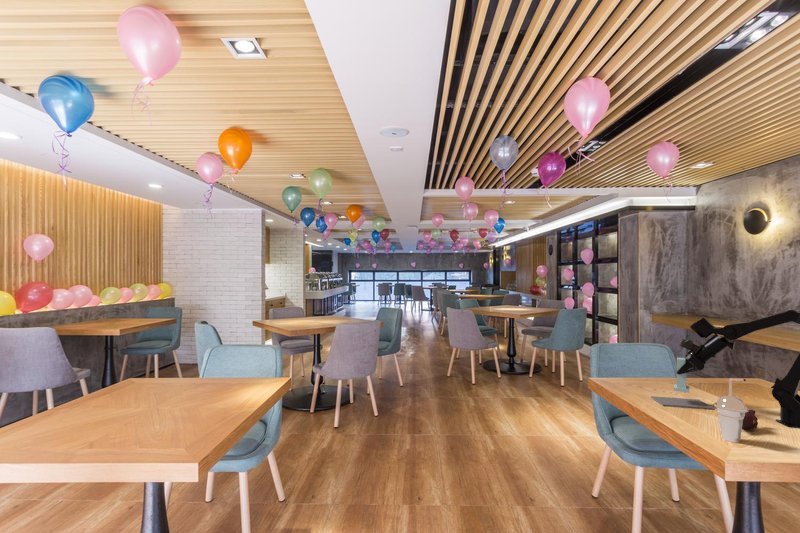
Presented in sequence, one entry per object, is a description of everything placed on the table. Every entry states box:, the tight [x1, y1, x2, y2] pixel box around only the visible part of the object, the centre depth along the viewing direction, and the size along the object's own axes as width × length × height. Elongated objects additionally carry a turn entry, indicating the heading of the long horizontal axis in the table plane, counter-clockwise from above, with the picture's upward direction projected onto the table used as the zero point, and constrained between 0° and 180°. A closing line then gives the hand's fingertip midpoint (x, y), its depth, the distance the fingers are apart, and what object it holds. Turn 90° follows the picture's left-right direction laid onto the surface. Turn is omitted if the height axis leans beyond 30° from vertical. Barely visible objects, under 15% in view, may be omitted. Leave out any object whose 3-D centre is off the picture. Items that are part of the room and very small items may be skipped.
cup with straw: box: [713, 377, 749, 444], centre depth 132 cm, size 8×9×20 cm
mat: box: [650, 395, 716, 411], centre depth 170 cm, size 12×18×1 cm, turn 79°
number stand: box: [673, 357, 690, 394], centre depth 171 cm, size 5×7×12 cm
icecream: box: [742, 409, 759, 432], centre depth 142 cm, size 7×7×15 cm
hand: (677, 372), depth 172 cm, fingers closed on number stand, 5 cm apart
